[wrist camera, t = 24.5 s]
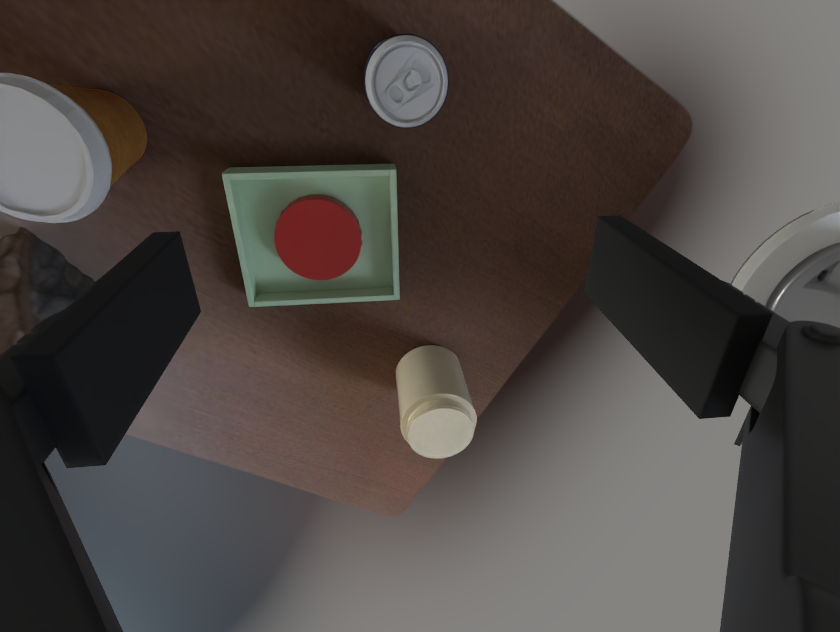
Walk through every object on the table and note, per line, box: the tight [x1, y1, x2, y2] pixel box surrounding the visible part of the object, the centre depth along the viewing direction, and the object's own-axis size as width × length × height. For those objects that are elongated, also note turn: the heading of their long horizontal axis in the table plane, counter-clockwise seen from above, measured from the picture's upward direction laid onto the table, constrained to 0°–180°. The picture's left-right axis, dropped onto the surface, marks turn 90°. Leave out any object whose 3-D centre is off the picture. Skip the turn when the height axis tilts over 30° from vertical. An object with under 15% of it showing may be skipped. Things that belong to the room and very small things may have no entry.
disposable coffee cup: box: [0, 73, 147, 223], centre depth 35 cm, size 10×10×12 cm
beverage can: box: [364, 34, 449, 128], centre depth 36 cm, size 6×6×12 cm
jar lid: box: [274, 194, 362, 280], centre depth 46 cm, size 8×8×2 cm
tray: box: [222, 164, 400, 307], centre depth 46 cm, size 15×13×2 cm
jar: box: [395, 345, 477, 458], centre depth 52 cm, size 8×8×10 cm
